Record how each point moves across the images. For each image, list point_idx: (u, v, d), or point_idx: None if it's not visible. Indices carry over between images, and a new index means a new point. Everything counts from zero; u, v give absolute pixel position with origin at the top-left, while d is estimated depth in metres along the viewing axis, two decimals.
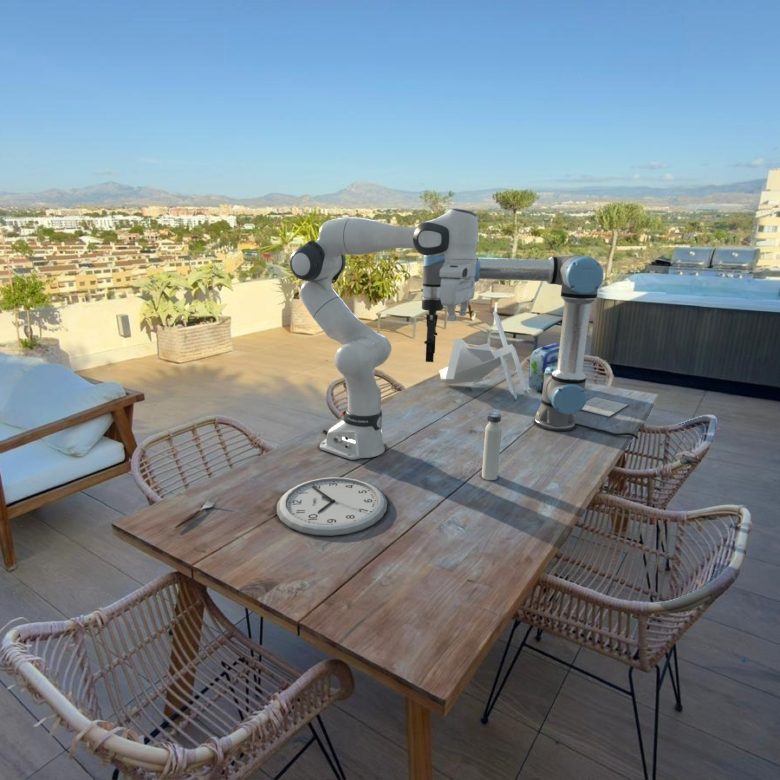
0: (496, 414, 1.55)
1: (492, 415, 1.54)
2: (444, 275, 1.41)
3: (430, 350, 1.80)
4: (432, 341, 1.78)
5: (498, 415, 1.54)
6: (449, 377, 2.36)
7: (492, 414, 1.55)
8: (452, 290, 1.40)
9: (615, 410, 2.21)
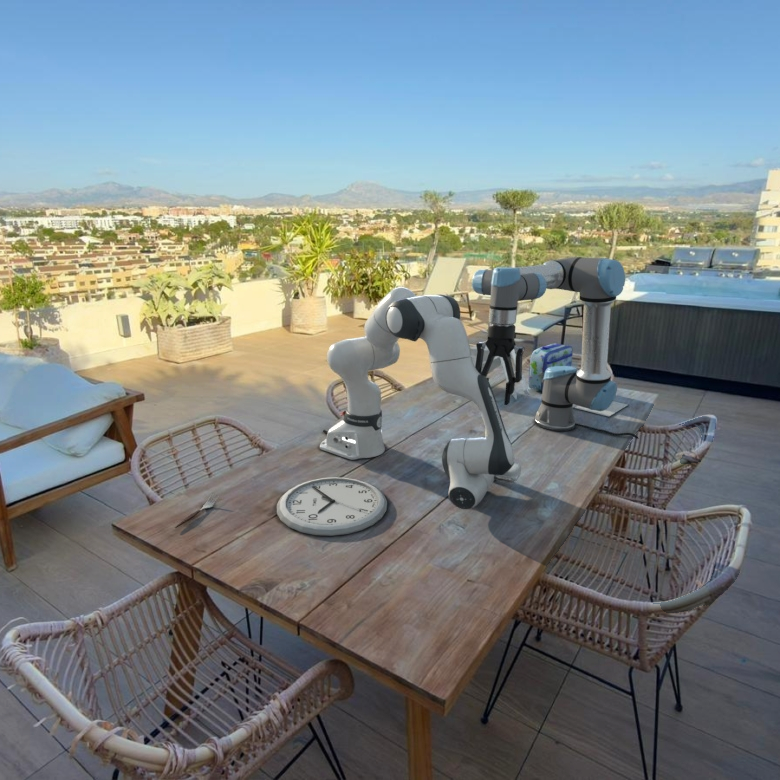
0: None
1: None
2: None
3: None
4: None
5: None
6: None
7: None
8: None
9: (615, 410, 2.21)
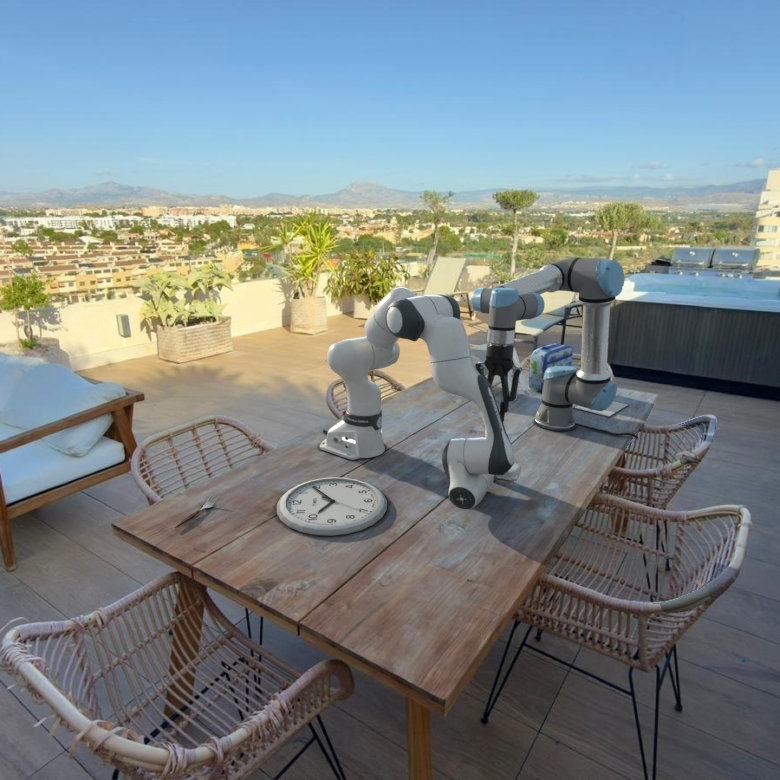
0: None
1: None
2: None
3: None
4: None
5: None
6: None
7: None
8: None
9: (615, 410, 2.21)
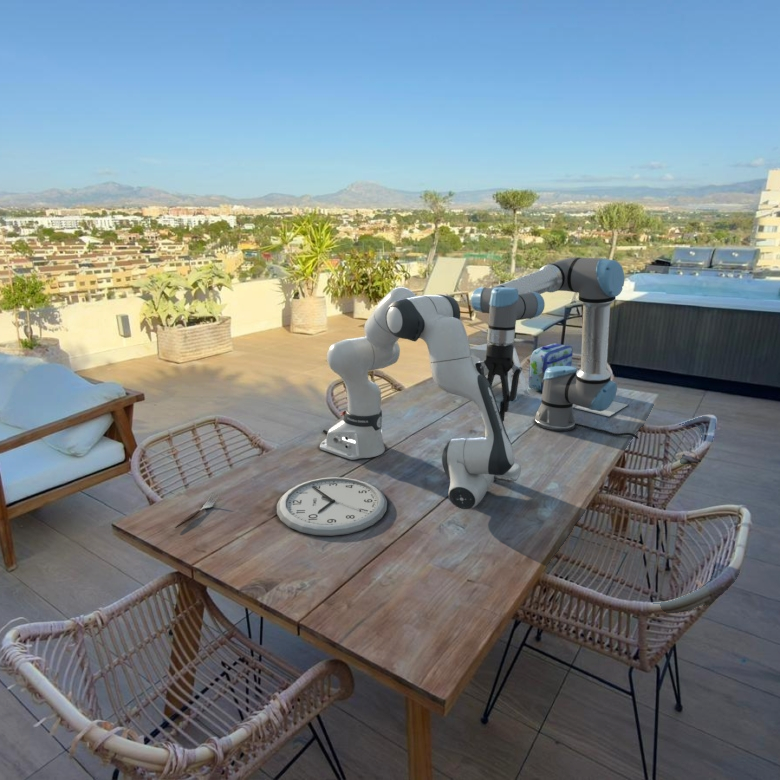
0: None
1: None
2: None
3: None
4: None
5: None
6: None
7: None
8: None
9: (615, 410, 2.21)
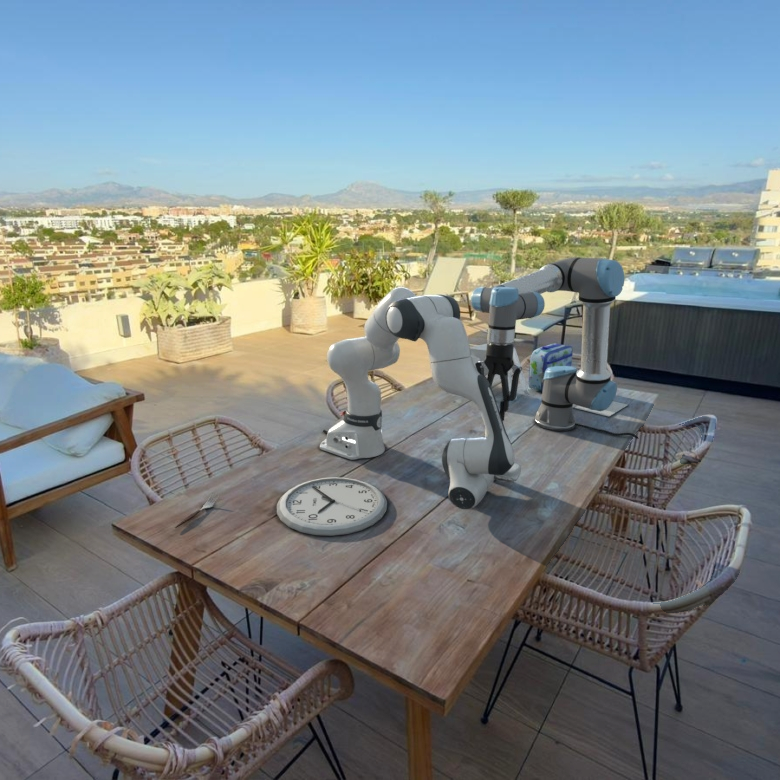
0: None
1: None
2: None
3: None
4: None
5: None
6: None
7: None
8: None
9: (615, 410, 2.21)
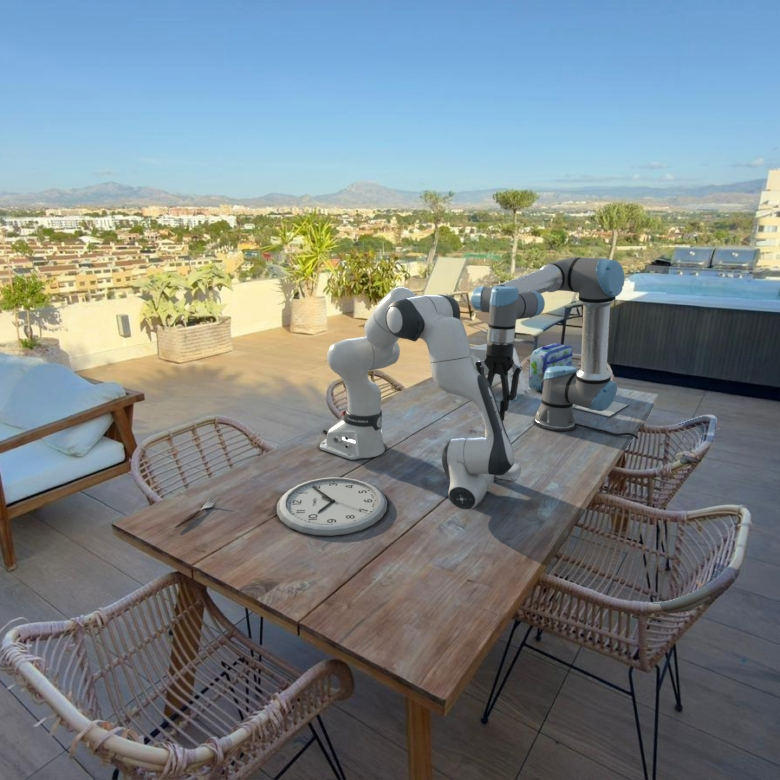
0: None
1: None
2: None
3: None
4: None
5: None
6: None
7: None
8: None
9: (615, 410, 2.21)
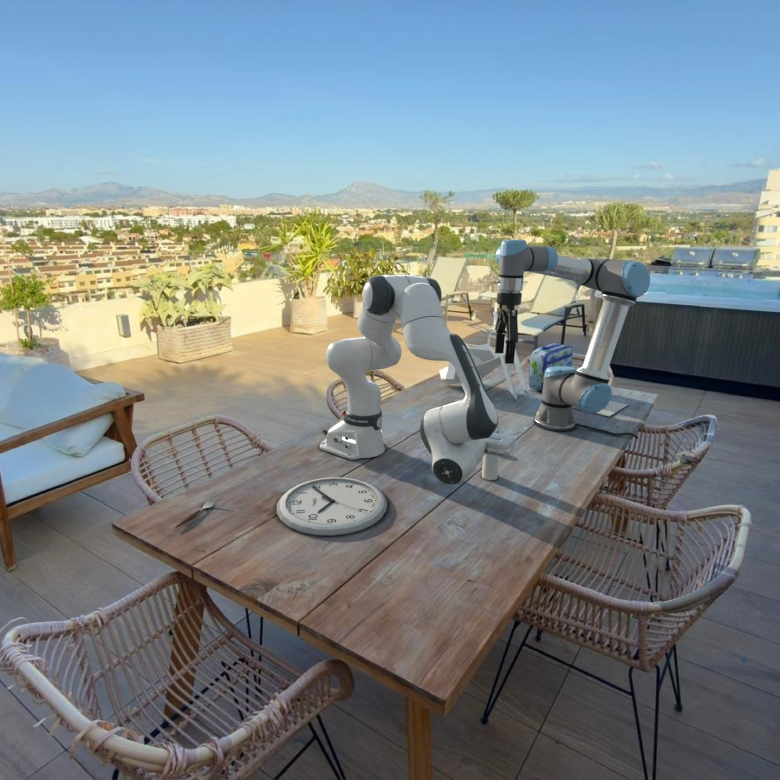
0: None
1: None
2: None
3: (512, 350, 1.59)
4: (516, 340, 1.56)
5: None
6: (449, 377, 2.36)
7: None
8: None
9: (615, 410, 2.21)
